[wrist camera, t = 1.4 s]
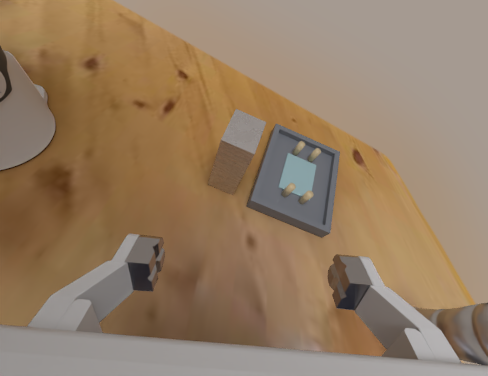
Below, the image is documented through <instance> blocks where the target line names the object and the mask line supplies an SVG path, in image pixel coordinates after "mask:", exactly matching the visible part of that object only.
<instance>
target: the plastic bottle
mask: <svg viewBox="0 0 488 376" xmlns="http://www.w3.org/2000/svg"><path fill="white" fill-rule="evenodd" d="M413 308H414V309H416V310H417V311H418V312H419V313H420V314H422V315H423V316H424V317H425V318H426V319H428V320H429V321H430V322H431V323H433V324H434V325H435V326H436V327H437V328H439V329H440V330H441V331H442V333H443V334H444V336H445V337H446V339H447V341H448V342H449V344H450V345H451V347H452V348H453V350H454V352H455V353H456V355H457V356H458V358H459V360H463V361H467V362H472V363H477V364H480V365H488V303H481V304H476V305H471V306H466V307H460V308H452V309H439V310H436V309H423V308H415V307H413Z"/></svg>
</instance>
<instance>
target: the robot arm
mask: <svg viewBox="0 0 488 376" xmlns="http://www.w3.org/2000/svg"><path fill="white" fill-rule="evenodd" d="M47 100H48V96H47V93H46V91H45V90H44V88H43V87H41V86H39V85H36V84H33V82H32V81H31V80H30V78H29V77H28V75H27V74H26V72H25V71H24V70H23V68H22V67H21V65H20V64H19V63H18V61H17V60H16V59H15V57H14V56H13V55H12V54H11V53H10V52H8V51H4V50H2V48H1V47H0V170H3V169H7V168H11V167H14V166H17V165H19V164H22V163H24V162H26V161H28V160H30V159H32V158H33V157H35V156H36V155H38V154H39V153H40V152H41V151H42V150H44V149H45V148H46V146H47V145H48V144H49V143H50V141H51V140H52V138H53V135H54V132H55V119H54V116H53V114H52V113H51V111H50V109H49V108H48V105H47ZM163 244H164V241H163V238H162V237H155V236H147V235H138V234H128V235H127V236H126V238H125V239H124V241H123V243H122V244H121V246H120V247H119V249H118V251H117V252H116V254H115V255H114V257H113V259H112V260H111V261H106V262H105V263H103V264H101V265H100V266H98V267H97V268H95V269H93V270H92V271H90V272H88V273H87V274H85V275H83V276H82V277H80V278H79V279H77V280H75V281H74V282H72V283H70V284H69V285H67V286H65V287H64V288H62V289H61V290H59V291H57V292H56V293H54V294H52V295H51V296H50V297H49V299H48V300H47V301H46V302H45V304H44V305H43V306H42V308H41V309H40V310H39V312H38V313H37V314H36V315H35V317H34V318H33V319H32V321H31V322H30V323H29V325H28V326H27V327H25V326H13V325H1V324H0V376H488V365H475V364H464V363H461V361H460V360H459V358H458V356H457V355H456V353H455V352H454V350H453V348H452V347H451V345H450V344H449V342H448V341H447V339H446V337H445V336H444V334H443V333H442V331H441V330H440V329H439V328H437V327H436V326H435V325H434V324H433V323H431V322H430V321H429V320H428V319H426V318H425V317H424V316H423V315H422V314H420V313H419V312H418V311H417V310H416V309H414V308H413V307H412V306H411V305H409V304H408V303H407V302H406V301H405V300H403V299H402V298H401V297H400V296H398V295H397V294H396V293H395V292H394V291H392V290H391V289H390V288H389V287H385V285H384V283H383V282H382V280H381V278H380V276H379V274H378V272H377V270H376V268H375V267H374V265H373V263H372V261H371V259H370V258H369V257H360V256H349V255H338V254H337V255H335V256H334V258H333V262H334V264H333V265H331V266H330V268H329V270H328V282H329V286H330V287H331V288H332V289H333V290H334V292H333V294H332V295H333V299H334V302H335V305H336V308H340V309H348V310H355V312H356V314H357V315H358V316H359V317H360V318H361V319H362V321H363V322H364V323H365V324H366V325H367V327H368V328H369V329H370V330H371V331H372V333H373V334H374V335H375V336H376V337H377V339H378V340H379V341H380V342H381V343H382V345H383V346H384V347H385V348H386V349H387V350H386V351H385V352H384V354H383V355H382V356H369V355H357V354H345V353H333V352H321V351H309V350H297V349H286V348H274V347H262V346H250V345H238V344H226V343H214V342H202V341H190V340H178V339H166V338H154V337H142V336H131V335H119V334H107V333H103V332H102V330H101V327H100V324H99V322H100V321H101V320H103V319H104V318H105V317H106V316H107V315H108V314H109V313H110V312H111V311H112V310H114V309H115V308H116V307H117V306H118V305H119V304H120V303H121V302H122V301H123V300H125V299H126V298H127V297H128V296H129V295H130V294H131V293H132V292H133V290H138V291H153V290H154V288H155V285H156V282H157V280H158V274H157V273H158V272H160V271H161V269H162V267H163V263H164V258H165V251H164V249H163V248H162V246H163Z"/></svg>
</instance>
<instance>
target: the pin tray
mask: <svg viewBox="0 0 488 376" xmlns="http://www.w3.org/2000/svg"><path fill="white" fill-rule="evenodd" d="M339 155H340V152H339V151H337V150H334V149H332V148H330V147H328V146H325V145H323V144H321V143H319V142H316V141H314V140H312V139H310V138H307V137H305V136H303V135H301V134H299V133H296V132H294V131H292V130H290V129H287V128H285V127H283V126H281V125H278V124H276V125H275V127H274V128H273V130H272V132H271V135H270V138H269V141H268V144H267V147H266V150H265V153H264V156H263V159H262V162H261V164H260V167H259V170H258V173H257V176H256V179H255V182H254V185H253V188H252V191H251V194H250V197H249V200H248V203H247V207H249V208H251V209H254V210H256V211H259V212H261V213H264V214H266V215H268V216H271V217H273V218H276V219H278V220H281V221H283V222H285V223H288V224H290V225H293V226H295V227H298V228H300V229H302V230H305V231H307V232H310V233H312V234H314V235H317V236H319V237H324V236H326V235H328V234H329V233H330V230H331V221H332V213H333V205H334V197H335V188H336V180H337V172H338V164H339Z"/></svg>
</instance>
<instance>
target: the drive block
mask: <svg viewBox="0 0 488 376" xmlns="http://www.w3.org/2000/svg"><path fill="white" fill-rule="evenodd" d="M265 124H266V122H264V121H262V120H260V119H258V118H255V117H253V116H251V115H249V114H246V113H244V112H242V111H240V110H237V109H236V110H235V112H234V114H233V116H232V118H231V120H230V123H229V125H228V127H227V129H226V131H225V133H224V135H223V137H222V139H221V142H220V145H219V149H218V152H217V155H216V159H215V162H214V165H213V169H212V172H211V175H210V179H209V182H208V185H210V186H212V187H214V188H217V189H219V190H222V191H224V192H226V193H229V194H231V195H233V194H234V192H235V190H236V188H237V186H238V184H239V183H240V181H241V179H242V177H243V175H244V173H245V171H246V169H247V167H248V166H249V164H250V162H251V160H252V158H253V156H254V154H255V151H256V149H257V146H258V143H259V141H260V138H261V135H262V132H263V130H264V127H265Z"/></svg>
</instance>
